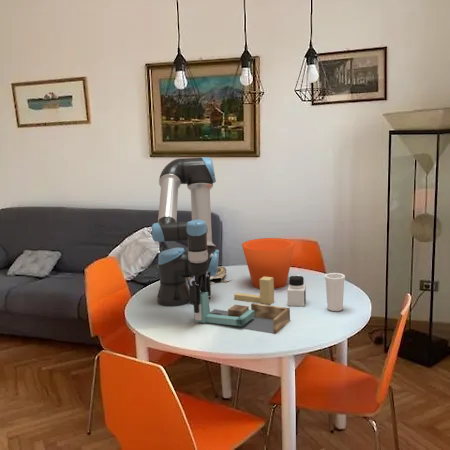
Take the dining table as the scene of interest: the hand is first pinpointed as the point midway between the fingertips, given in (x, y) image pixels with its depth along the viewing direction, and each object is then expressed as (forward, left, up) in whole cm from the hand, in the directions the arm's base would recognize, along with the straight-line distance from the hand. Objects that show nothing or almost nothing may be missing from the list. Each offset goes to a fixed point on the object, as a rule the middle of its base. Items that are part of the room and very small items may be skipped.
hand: (201, 317), depth 209 cm
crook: (+8, +4, -1) cm, 9 cm away
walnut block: (+13, +7, -2) cm, 15 cm away
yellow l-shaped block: (+8, +30, -2) cm, 31 cm away
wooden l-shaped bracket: (+24, +7, -2) cm, 25 cm away
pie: (-29, +53, -3) cm, 61 cm away
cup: (+44, +33, -2) cm, 55 cm away
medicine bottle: (+27, +34, -2) cm, 43 cm away
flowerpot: (+5, +55, -2) cm, 55 cm away
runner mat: (+15, +6, -2) cm, 16 cm away
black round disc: (+2, +7, -2) cm, 7 cm away
